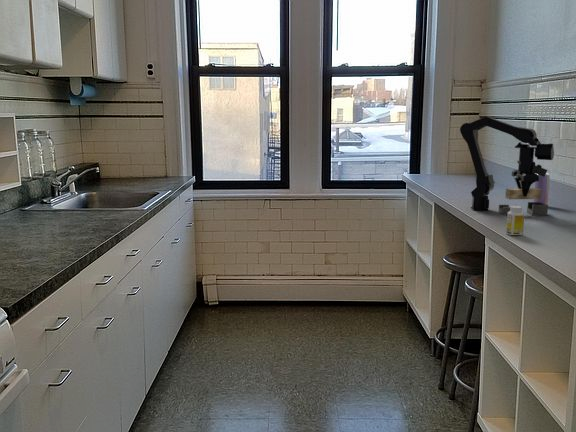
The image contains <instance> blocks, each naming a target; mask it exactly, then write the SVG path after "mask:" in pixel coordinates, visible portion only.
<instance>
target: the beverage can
mask: <svg viewBox="0 0 576 432" xmlns="http://www.w3.org/2000/svg"><path fill="white" fill-rule="evenodd" d="M537 175H538V174H537ZM538 176H539V181H536V182H534V188H538V189H541V190H542V196H541V199H533V202H543V203H545V204H547V205H548V206H549V204H548V203H549V193H550V180H551V178H550V177H551V175H550V173H548V172H546V175H545V177H543V176H540V175H538Z"/></svg>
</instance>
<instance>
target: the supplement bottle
mask: <svg viewBox="0 0 576 432" xmlns="http://www.w3.org/2000/svg"><path fill="white" fill-rule="evenodd" d="M509 207H510V211H509V212H508V214H507V215H506V216H507V218H506V230H505V231H506V234H507V235H508V234H509V235H508V236H511V235H521V236H522V235H523V234H524V223H525V221H524V219H525V212H523V206H520V205H510V206H509Z"/></svg>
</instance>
